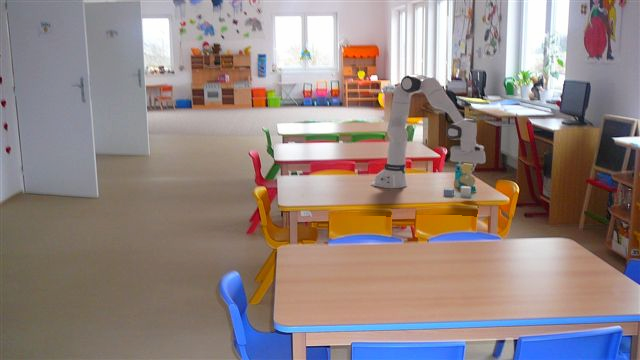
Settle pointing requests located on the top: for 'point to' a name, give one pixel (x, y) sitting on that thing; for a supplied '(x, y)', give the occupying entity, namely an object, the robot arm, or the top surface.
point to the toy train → (463, 179)
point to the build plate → (465, 196)
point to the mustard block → (467, 168)
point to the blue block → (448, 192)
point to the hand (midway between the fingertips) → (467, 170)
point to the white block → (465, 191)
